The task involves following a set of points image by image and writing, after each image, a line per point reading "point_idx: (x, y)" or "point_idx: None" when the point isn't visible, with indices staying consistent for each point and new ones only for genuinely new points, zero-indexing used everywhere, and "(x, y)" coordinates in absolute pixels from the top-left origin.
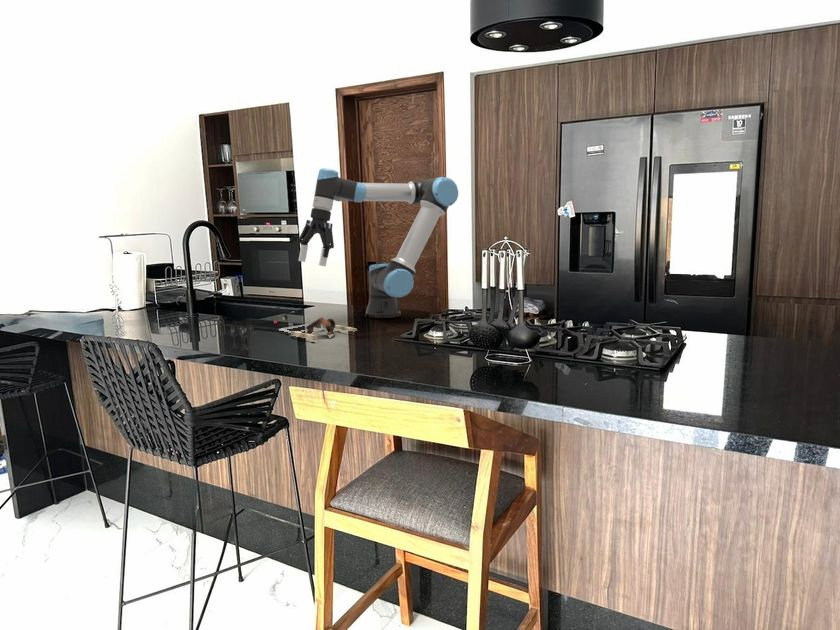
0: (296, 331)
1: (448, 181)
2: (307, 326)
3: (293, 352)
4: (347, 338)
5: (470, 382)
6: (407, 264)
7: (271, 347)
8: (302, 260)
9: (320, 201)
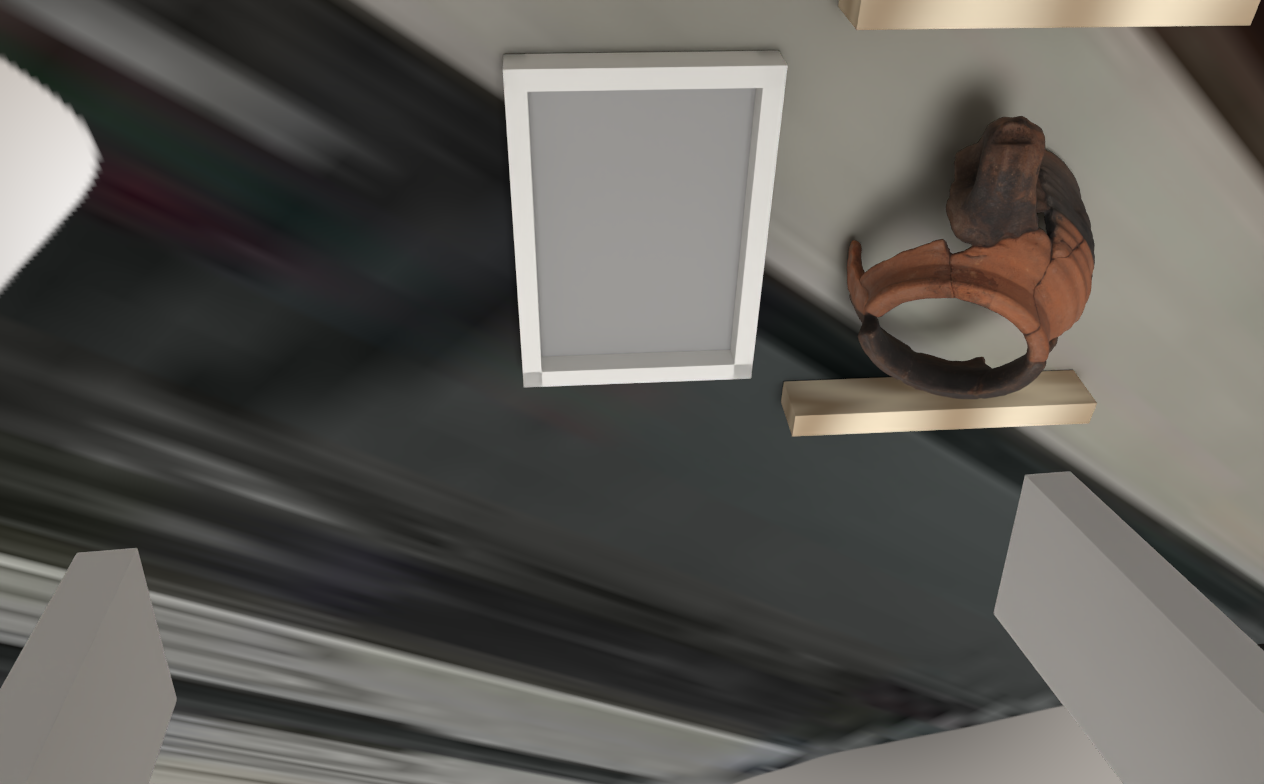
0: (840, 417)
1: None
2: (928, 390)
3: None
4: (1207, 129)
5: None
6: None
7: (902, 584)
8: (147, 646)
9: None
